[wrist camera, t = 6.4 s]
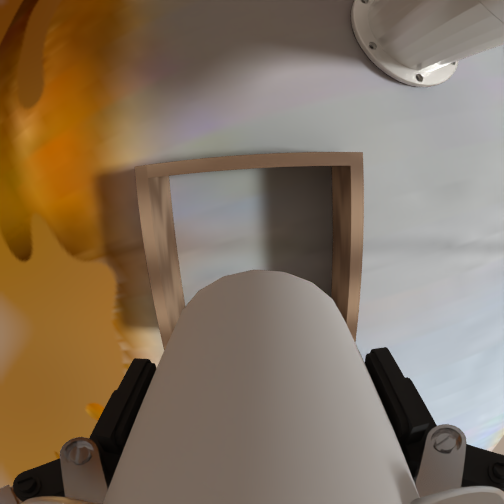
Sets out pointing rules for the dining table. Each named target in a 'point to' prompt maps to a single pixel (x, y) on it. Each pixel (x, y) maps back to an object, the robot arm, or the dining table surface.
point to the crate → (343, 168)
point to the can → (261, 406)
